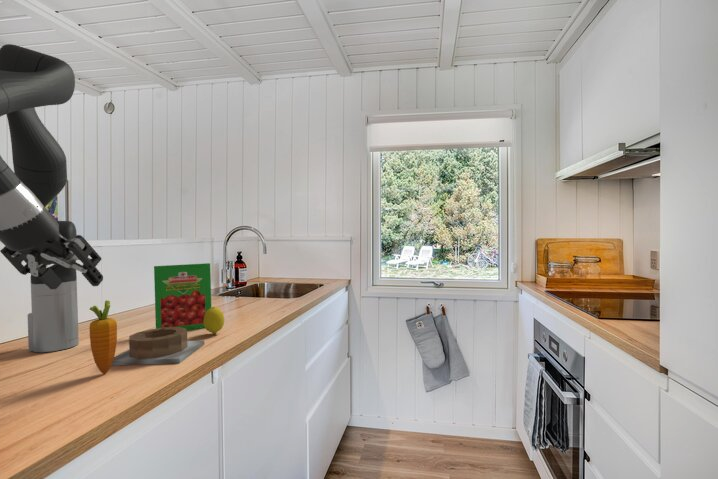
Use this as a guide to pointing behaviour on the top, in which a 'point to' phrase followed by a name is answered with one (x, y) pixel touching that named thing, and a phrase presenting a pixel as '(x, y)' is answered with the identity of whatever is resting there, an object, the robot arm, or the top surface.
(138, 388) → the top surface
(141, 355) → the collar board
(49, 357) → the top surface
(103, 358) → the carrot
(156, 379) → the top surface
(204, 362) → the top surface
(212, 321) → the lemon
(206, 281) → the tomato puree packet
